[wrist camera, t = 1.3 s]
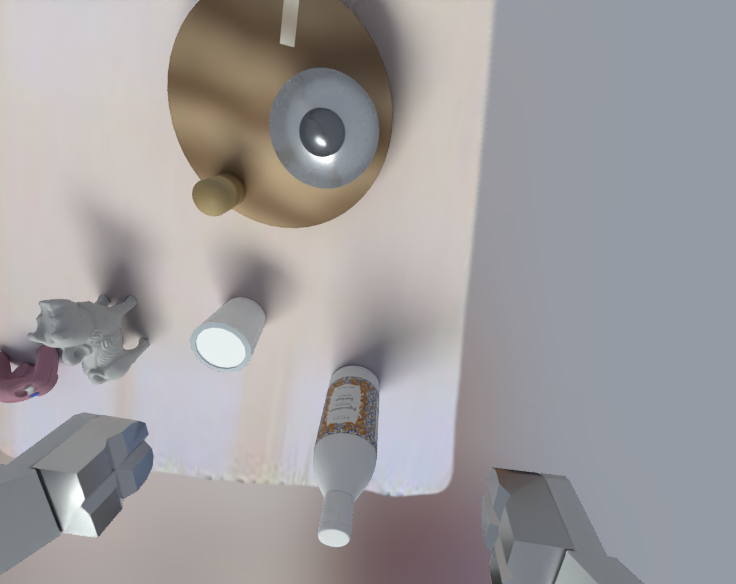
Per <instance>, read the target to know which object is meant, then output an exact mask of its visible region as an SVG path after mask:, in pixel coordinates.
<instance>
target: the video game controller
mask: <svg viewBox="0 0 736 584" xmlns="http://www.w3.org/2000/svg"><path fill="white" fill-rule="evenodd" d="M58 362H59V361H58V353H57V350H56V348H53V347H49V346H46V345H42V346H41V347H40V348H39V350H38V352H37V357H36V365H35V366H32V365H29V364H26V363H24V364H21V365H20V366H19V367H17V368H16V369H15V370H14V372H11V366H10V361H9V359H8V357H7V356H6V355H5V353H3V352H0V401H1V402H5V403H15V402H21V401H24V400H27V399H30V398H32V397H34V396H42V395H44V394H46V393H48V392H49V391H50V390H51V389H52V388H53V387H54V386H55V384H56V382H57V380H58V374H57V371H58Z"/></svg>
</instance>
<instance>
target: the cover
mask: <svg viewBox="0 0 736 584" xmlns="http://www.w3.org/2000/svg"><path fill="white" fill-rule="evenodd" d="M269 128H270V137H271V141H272V145H273V148H274V150H275V153H276V155H277V157H278V159H279V160H280V162H281V163H282V165H283V166H284V167H285V169H286V170H287V171H288V172H289V173H290V174H291V175H293V176H294V177H295V178H296V179H298V180H299V181H301V182H303V183H305V184H307V185H309V186H313V187H316V188H322V189H332V188H338V187H342V186H344V185H347V184H349V183H351V182H353V181H354V180H356V179H357V178H358V177H359V176H360V175H361V174H362V173H363V172H364V171H365V170H366V169H367V167H368V166H369V164H370V163H371V161H372V159H373V157H374V154H375V152H376V149H377V146H378V142H379V133H380V127H379V119H378V114H377V111H376V108H375V106H374V104H373V101H372V100H371V98H370V96H369V95H368V93H367V92H366V91H365V90H364V89H363V88H362V87H361V86H360V85H359V84H358V83H357V82H356V81H355V80H354V79H352V78H351V77H349V76H348V75H346V74H344V73H342V72H340V71H337V70H334V69H329V68H313V69H308V70H305V71H302V72H300V73H298V74H296V75H295V76H293V77H292V78H290V79H289V80H288V81H287V82H286V83H285V84H284V85H283V86H282V88H281V89H280V90H279V92H278V94H277V95H276V97H275V100H274V102H273V105H272V108H271V113H270V123H269Z"/></svg>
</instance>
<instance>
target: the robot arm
mask: <svg viewBox="0 0 736 584" xmlns="http://www.w3.org/2000/svg"><path fill="white" fill-rule="evenodd" d="M147 436H148V430H147V427H146V423H144V422H141V421H136V420H130V419H124V418H118V417H112V416H106V415H97V414H91V413H80V414H77V415H74V416H73V417H71V418H70V419H69V420H67V421H66V422H65V423H63V424H62V425H60V426H59V427H58V428H56V429H55V430H54V431H52V432H51V433H50V434H48V435H47V436H46V437H44V438H43V439H41V440H40V441H39V442H37V443H36V444H35V445H33V446H32V447H31V448H29V449H28V450H26V451H25V452H24V453H22V454H21V455H20V456H18V457H17V458H16V459H14V460H13V461H12V462H10V463H9V464H7V465H5V464H0V575H1V574H3V573H4V572H6V571H7V570H9V569H10V568H12V567H13V566H15V565H16V564H18V563H19V562H21V561H22V560H24V559H25V558H27V557H28V556H30V555H31V554H33V553H34V552H36V551H37V550H39V549H40V548H42V547H43V546H45V545H46V544H48V543H49V542H51V541H52V540H54V539H55V538H57V537H58V536H60V533H68V534H75V535H82V536H90V537H97V538H98V537H99V536H100V534H101V533H102V532H103V531H104V530H105V528H106V527H107V526H108V525H109V524H110V523H111V521H112V520H113V519H114V518H115V517H116V516H117V514H118V513H119V512H120V511H121V510H122V508H123V500H124V498H126V497H127V496H129V495H131V494H133V493H135V492H136V491H138V489H139V488H140V487H141V486H142V485H143V483H144V482H145V480H147V477H148V475H149V473H150V471H151V469H152V466H153V452H152V448H151V447H150V446H149V445H148V444H147V443H146V442H145V441H144V440H145V439H146V437H147ZM487 481H488V486H489V490H490V491H489V492H488V493H486V494H485V495H484V498H483V503H482V517H481V518H482V519H481V522H482V532H483V538H484V544H485V546H486V547H487V548H488V549H489V551H490V552H491V553H492V557H491V561H490V565H489V571H490V576H491V581H492V584H644V583H643V582H642V581H641V580H639V579H638V578H637V577H636V576H635V575H634V574H633V573H632V572H631V571H630V570H629V569H628V568H626V567H625V566H624V565H623V564H622V563H621V562H620V561H619V560H618V559H617V558H614V557H609V556H607V554H606V553H605V551H604V549H603V547H602V545H601V542H600V541H599V538H598V536H597V535H596V532H595V531H594V528H593V526H592V524H591V522H590V520H589V518H588V516H587V514H586V512H585V510H584V508H583V506H582V504H581V502H580V500H579V498H578V496H577V494H576V493H575V490H574V488H573V486H572V484H571V482H570V480H569V479H568V478H566V477H565V476H560V475H552V474H543V473H540V474H539V473H535V472H527V471H519V470H511V469H510V470H509V469H503V468H494V467H492V468H491V470H490V471H489V475H488V479H487Z"/></svg>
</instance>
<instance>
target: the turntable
mask: <svg viewBox="0 0 736 584" xmlns="http://www.w3.org/2000/svg"><path fill="white" fill-rule="evenodd" d="M313 68H329V69H334V70H337V71H340V72H342V73H344V74H346V75H348V76H349V77H351V78H352V79H354V80H355V81H356V82H357V83H358V84H359V85H360V86H361V87H362V88H363V89H364V90H365V91H366V92H367V93H368V95H369V96H370V98H371V100H372V101H373V104H374V106H375V108H376V111H377V114H378V119H379V127H380V133H379V142H378V146H377V149H376V152H375V154H374V157H373V159H372V161H371V163H370V164H369V166H368V167H367V169H366V170H365V171H364V172H363V173H362V174H361V175H360V176H359V177H358V178H357V179H356V180H354V181H353V182H351V183H349V184H347V185H344V186H342V187H338V188H332V189H322V188H316V187H313V186H309V185H307V184H305V183H303V182H301V181H299V180H298V179H296V178H295V177H294V176H293V175H291V174H290V173H289V172H288V171H287V170H286V169H285V167H284V166H283V165H282V163H281V162H280V160H279V159H278V157H277V155H276V153H275V150H274V148H273V145H272V141H271V137H270V128H269V123H270V113H271V108H272V105H273V102H274V100H275V97H276V95H277V94H278V92H279V90H280V89H281V88H282V86H283V85H284V84H285V83H286V82H287V81H288V80H289V79H290V78H292V77H293V76H295V75H296V74H298V73H300V72H302V71H305V70H308V69H313ZM168 101H169V109H170V114H171V119H172V123H173V127H174V130H175V133H176V136H177V139H178V141H179V144H180V146H181V148H182V150H183V153H184V155H185V156H186V158H187V160H188V162H189V163H190V165H191V167H192V168H193V170H194V171H195V173H196V174H197V175H198V177H199V178H200V180H201V181H199V182H197V183H196V184H195V186H194V188H193V192H192V196H193V200H194V203H195V205H196V206H197V208H198V209H199V210H200V211H201V212H203V213H204V214H206V215H209V216H220V215H222V214H223V213H225V212H227V211H229V210H230V209H233V210H235V211H237V212H238V213H240V214H242V215H244V216H246V217H248V218H250V219H252V220H255V221H257V222H260V223H264V224H267V225H271V226H277V227H283V228H301V227H309V226H314V225H318V224H322V223H324V222H327V221H330V220H332V219H334V218H336V217H338V216H340V215H341V214H343V213H345V212H346V211H347V210H349V209H350V208H351V207H353V206H354V205H355V204H356V203H357V202H358V201H359V200H360V199H361V198H362V197H363V196H364V195H365V194H366V192H367V191H368V190H369V189H370V187H371V186H372V184H373V183H374V181H375V179H376V178H377V176H378V174H379V172H380V170H381V168H382V165H383V163H384V161H385V158H386V154H387V151H388V148H389V143H390V137H391V132H392V115H393V112H392V97H391V91H390V86H389V80H388V77H387V73H386V70H385V67H384V64H383V61H382V58H381V56H380V54H379V52H378V49H377V47H376V45H375V43H374V42H373V40H372V38H371V36H370V35H369V33H368V31H367V30H366V28H365V27H364V26H363V24H362V23H361V22H360V21H359V19H358V18H357V17H356V15H355V14H354V13H353V12H352V11H351V10H350V9H349V8H348V7H347V6H346V5H345V4H344V3H343V2H342V1H341V0H200V1H199V2H198V3H197V4H196V5H195V6H194V8H193V9H192V10H191V11H190V12H189V14H188V16H187V17H186V19H185V21H184V22H183V24H182V25H181V28H180V30H179V32H178V35H177V37H176V39H175V42H174V46H173V49H172V53H171V56H170V63H169V70H168Z"/></svg>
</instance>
